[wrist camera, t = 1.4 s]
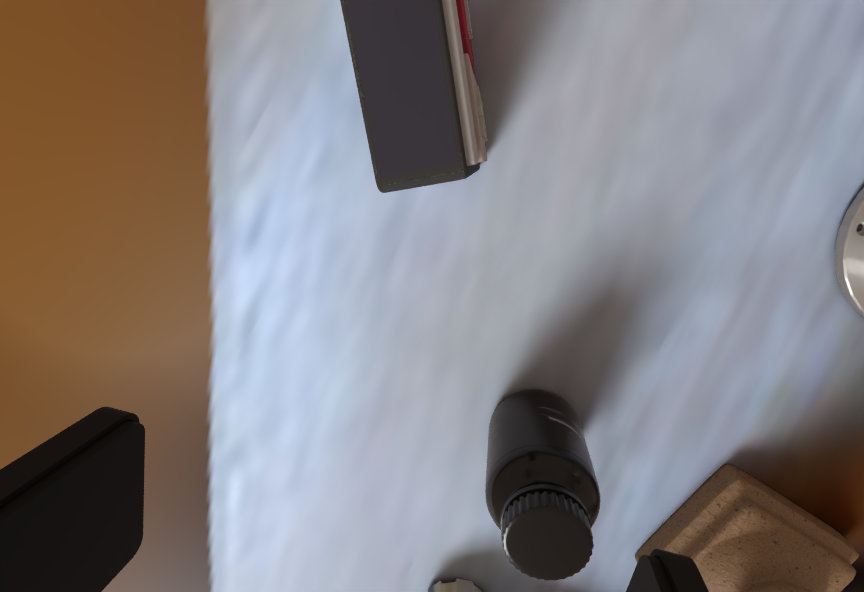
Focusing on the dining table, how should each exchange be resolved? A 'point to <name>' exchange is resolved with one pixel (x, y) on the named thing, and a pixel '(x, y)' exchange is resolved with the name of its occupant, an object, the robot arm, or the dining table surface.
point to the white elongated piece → (454, 586)
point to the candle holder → (754, 539)
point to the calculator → (417, 90)
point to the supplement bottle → (541, 485)
